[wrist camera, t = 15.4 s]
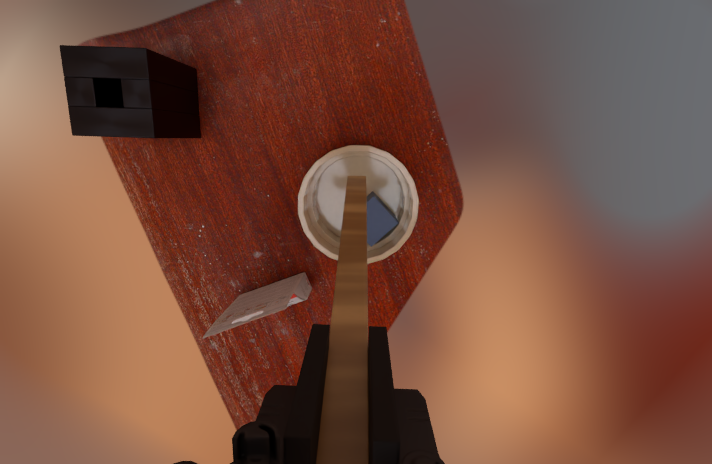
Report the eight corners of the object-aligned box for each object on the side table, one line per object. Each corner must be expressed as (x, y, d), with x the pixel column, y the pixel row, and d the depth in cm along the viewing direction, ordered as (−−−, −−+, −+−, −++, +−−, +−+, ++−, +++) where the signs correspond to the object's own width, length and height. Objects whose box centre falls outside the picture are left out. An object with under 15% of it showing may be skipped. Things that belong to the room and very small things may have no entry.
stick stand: (129, 66, 42) (59, 45, 32) (196, 68, 42) (146, 47, 32) (136, 135, 43) (72, 135, 34) (201, 138, 43) (154, 138, 34)
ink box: (314, 287, 48) (299, 333, 36) (247, 311, 49) (213, 362, 37) (305, 267, 47) (288, 307, 36) (238, 291, 48) (200, 337, 37)
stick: (347, 175, 36) (300, 584, 10) (366, 175, 36) (370, 585, 10) (347, 193, 37) (305, 611, 11) (365, 193, 37) (369, 613, 11)
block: (372, 190, 44) (373, 195, 40) (395, 215, 45) (398, 223, 41) (347, 213, 45) (346, 220, 41) (370, 237, 45) (371, 247, 41)
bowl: (306, 142, 43) (297, 143, 38) (414, 146, 43) (422, 147, 37) (306, 246, 46) (298, 262, 41) (407, 250, 46) (414, 266, 40)
